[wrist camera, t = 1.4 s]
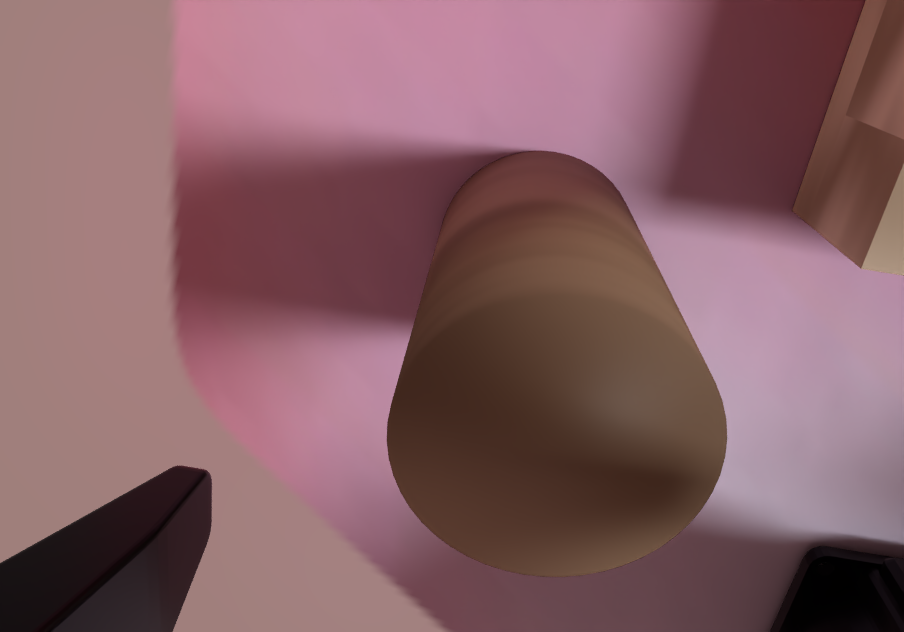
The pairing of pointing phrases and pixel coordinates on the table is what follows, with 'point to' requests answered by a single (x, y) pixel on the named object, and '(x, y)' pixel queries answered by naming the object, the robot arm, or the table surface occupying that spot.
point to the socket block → (863, 148)
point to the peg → (551, 380)
